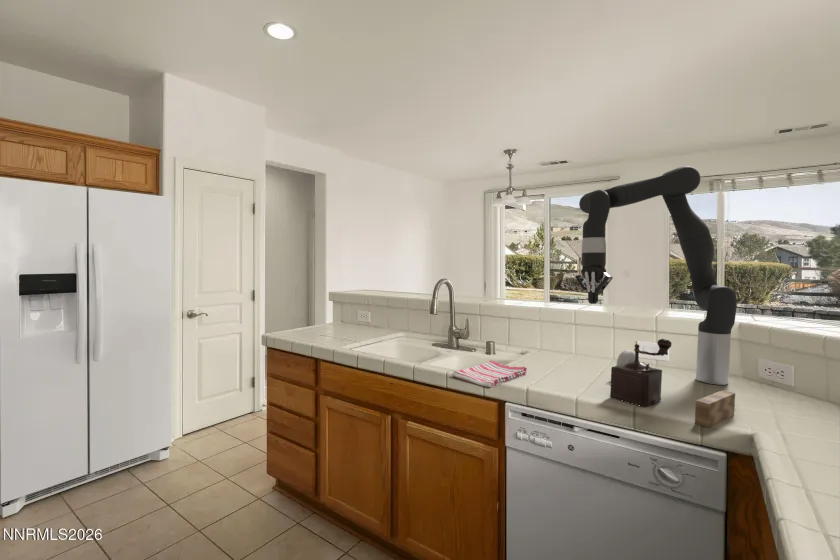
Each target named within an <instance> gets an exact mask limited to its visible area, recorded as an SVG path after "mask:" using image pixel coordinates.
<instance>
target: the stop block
mask: <svg viewBox="0 0 840 560" xmlns="http://www.w3.org/2000/svg"><path fill="white" fill-rule="evenodd" d="M735 403H736V392H733V391H728V390H723V389H722V390H719V391H717V392H714V393H711V394H709V395H707V396H704V397H701V398H698V399H696V400H695V413H694V414H695V416H694V424H695V425H698V426H702V427H705V428H710V427H713V426H714V424H715V425H717V424H718V422H719V423H721V422H722V421H725V420H727V419H729V418H730V417H733V416H734V415H735ZM720 421H721V422H720ZM716 423H717V424H716Z"/></svg>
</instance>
